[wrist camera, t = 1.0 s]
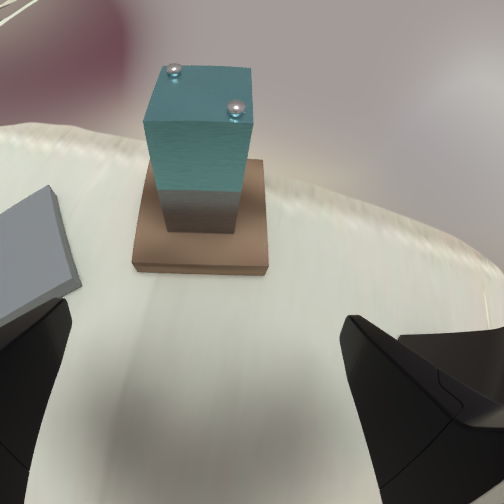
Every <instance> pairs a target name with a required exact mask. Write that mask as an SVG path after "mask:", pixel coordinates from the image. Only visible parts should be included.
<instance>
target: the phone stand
mask: <svg viewBox="0 0 504 504" xmlns="http://www.w3.org/2000/svg"><path fill="white" fill-rule="evenodd" d="M399 342H401V343H402V344H404V345H405V346H407V347H408V348H410V349H411V350H412V351H414V352H415V353H417V354H418V355H420V356H421V357H423V358H424V359H426V360H427V361H429V362H430V363H432V364H433V365H435V366H436V367H437V368H439V369H441V370H442V371H444V372H445V373H447V374H448V375H450V376H451V377H453V378H454V379H456V380H458V381H459V382H461V383H463V384H464V385H466V386H468V387H470V388H471V389H473V390H475V391H477V392H478V393H480V394H482V395H484V396H486V397H487V398H489V399H491V400H493V401H494V402H497V403H499V404H502V405H504V327H501V328H498V329H493V330H483V331H471V332H457V333H440V334H417V335H400V338H399Z"/></svg>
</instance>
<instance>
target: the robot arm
mask: <svg viewBox="0 0 504 504" xmlns="http://www.w3.org/2000/svg"><path fill="white" fill-rule="evenodd" d="M71 327H72V318H71V314H70V311H69V307H68V303H67V301H66V299H64V298H57V297H55V298H52V299H50V300H49V301H47V302H45V303H43V304H41V305H39V306H37V307H36V308H34V309H32V310H30V311H28V312H26V313H25V314H23V315H21V316H19V317H17V318H16V319H14V320H12V321H10V322H8V323H7V324H5V325H3V326H1V327H0V504H24V499H25V493H26V488H27V482H28V477H29V471H30V466H31V462H32V458H33V453H34V449H35V445H36V441H37V437H38V434H39V430H40V426H41V423H42V419H43V416H44V413H45V410H46V406H47V403H48V400H49V397H50V394H51V391H52V388H53V385H54V382H55V379H56V377H57V374H58V371H59V368H60V365H61V362H62V359H63V355H64V351H65V348H66V344H67V340H68V337H69V333H70V330H71ZM340 345H341V350H342V355H343V360H344V365H345V370H346V375H347V379H348V383H349V386H350V390H351V393H352V396H353V399H354V402H355V406H356V409H357V412H358V415H359V419H360V422H361V425H362V429H363V432H364V436H365V439H366V443H367V446H368V450H369V453H370V457H371V460H372V464H373V468H374V471H375V475H376V479H377V483H378V486H379V489H380V490H379V491H380V495H381V499H382V503H383V504H504V405H502V404H499V403H497V402H494V401H493V400H491V399H489V398H487V397H486V396H484V395H482V394H480V393H478V392H477V391H475V390H473V389H471V388H470V387H468V386H466V385H464V384H463V383H461V382H459V381H458V380H456V379H454V378H453V377H451V376H450V375H448V374H447V373H445V372H444V371H442V370H441V369H439V368H437V367H436V366H435V365H433V364H432V363H430V362H429V361H427V360H426V359H424V358H423V357H421V356H420V355H418V354H417V353H415V352H414V351H412V350H411V349H410V348H408V347H407V346H405V345H404V344H402V343H401V342H399V341H398V340H396V339H395V338H393V337H392V336H390V335H389V334H387V333H386V332H384V331H383V330H381V329H380V328H378V327H377V326H375V325H374V324H372V323H371V322H369V321H368V320H366V319H365V318H363V317H362V316H360V315H348V316H347V317H346V319H345V322H344V325H343V328H342V330H341V333H340Z"/></svg>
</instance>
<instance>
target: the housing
mask: <svg viewBox="0 0 504 504" xmlns="http://www.w3.org/2000/svg"><path fill="white" fill-rule="evenodd" d="M143 124H144V130H145V135H146V140H147V145H148V150H149V155H150V160H151V164H152V169H153V173H154V178H155V182H156V187H157V191H158V195H159V200H160V204H161V208H162V212H163V216H164V220H165V224H166V228H167V232H179V233H215V234H234V232H235V226H236V220H237V214H238V208H239V202H240V196H241V190H242V185H243V179H244V173H245V167H246V162H247V156H248V150H249V145H250V139H251V134H252V128H253V103H252V81H251V68H242V67H226V66H225V67H224V66H181V65H180V64H170V65H168V66H163V67H162V69H161V72H160V75H159V77H158V80H157V82H156V85H155V88H154V91H153V93H152V96H151V99H150V102H149V105H148V108H147V111H146V114H145V117H144V120H143Z"/></svg>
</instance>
